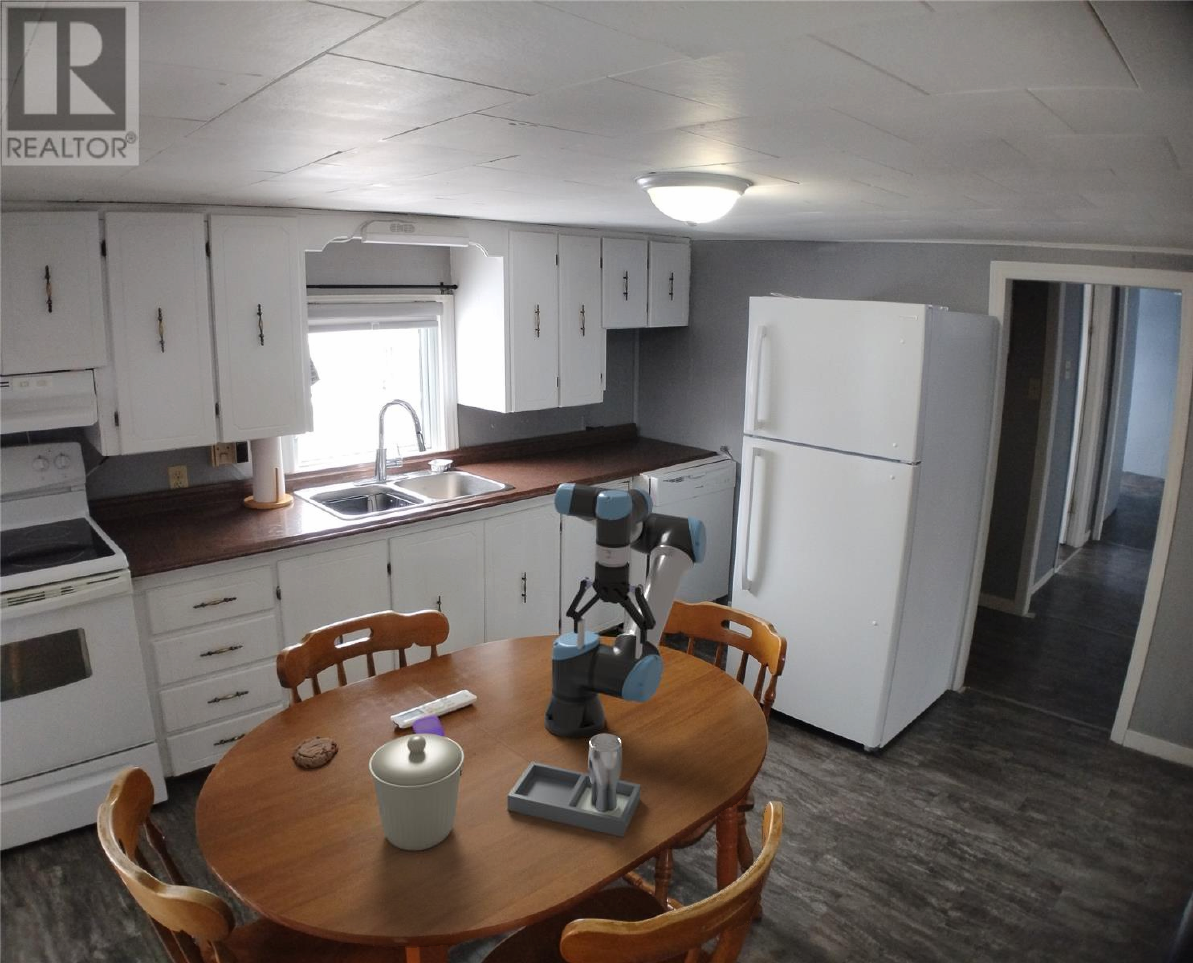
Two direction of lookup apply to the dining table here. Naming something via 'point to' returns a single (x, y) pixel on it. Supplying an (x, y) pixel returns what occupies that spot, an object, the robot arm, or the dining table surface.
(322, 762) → the cookie
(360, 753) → the dining table surface
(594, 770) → the beer glass
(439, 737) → the canister
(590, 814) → the grey divided tray
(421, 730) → the spatula
